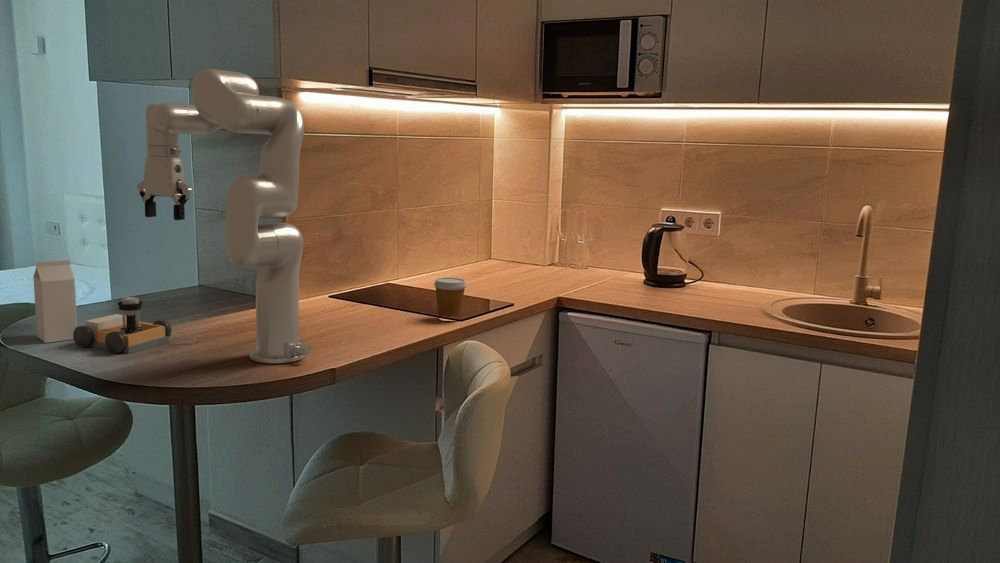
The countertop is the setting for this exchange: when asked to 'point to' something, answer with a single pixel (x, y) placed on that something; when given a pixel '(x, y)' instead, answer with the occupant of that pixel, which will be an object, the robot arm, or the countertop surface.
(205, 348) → the countertop surface
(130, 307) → the push button
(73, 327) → the milk carton
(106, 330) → the chassis
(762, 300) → the countertop surface
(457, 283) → the disposable coffee cup
